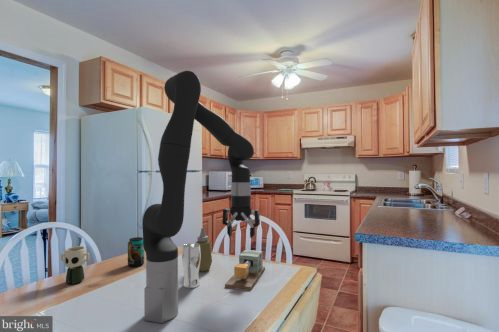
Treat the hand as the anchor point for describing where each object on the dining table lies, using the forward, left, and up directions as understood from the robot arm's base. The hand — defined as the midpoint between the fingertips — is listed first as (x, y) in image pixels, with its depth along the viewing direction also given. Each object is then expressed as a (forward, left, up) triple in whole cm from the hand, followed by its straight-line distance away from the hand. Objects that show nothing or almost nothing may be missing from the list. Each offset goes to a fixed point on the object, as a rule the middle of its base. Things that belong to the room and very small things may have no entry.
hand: (241, 236), depth 109 cm
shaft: (+9, 0, -15) cm, 17 cm away
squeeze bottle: (+10, +21, -18) cm, 29 cm away
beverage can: (+7, +53, -18) cm, 56 cm away
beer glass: (-6, +18, -18) cm, 26 cm away
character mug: (-16, +63, -18) cm, 67 cm away
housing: (+6, 0, -18) cm, 19 cm away
